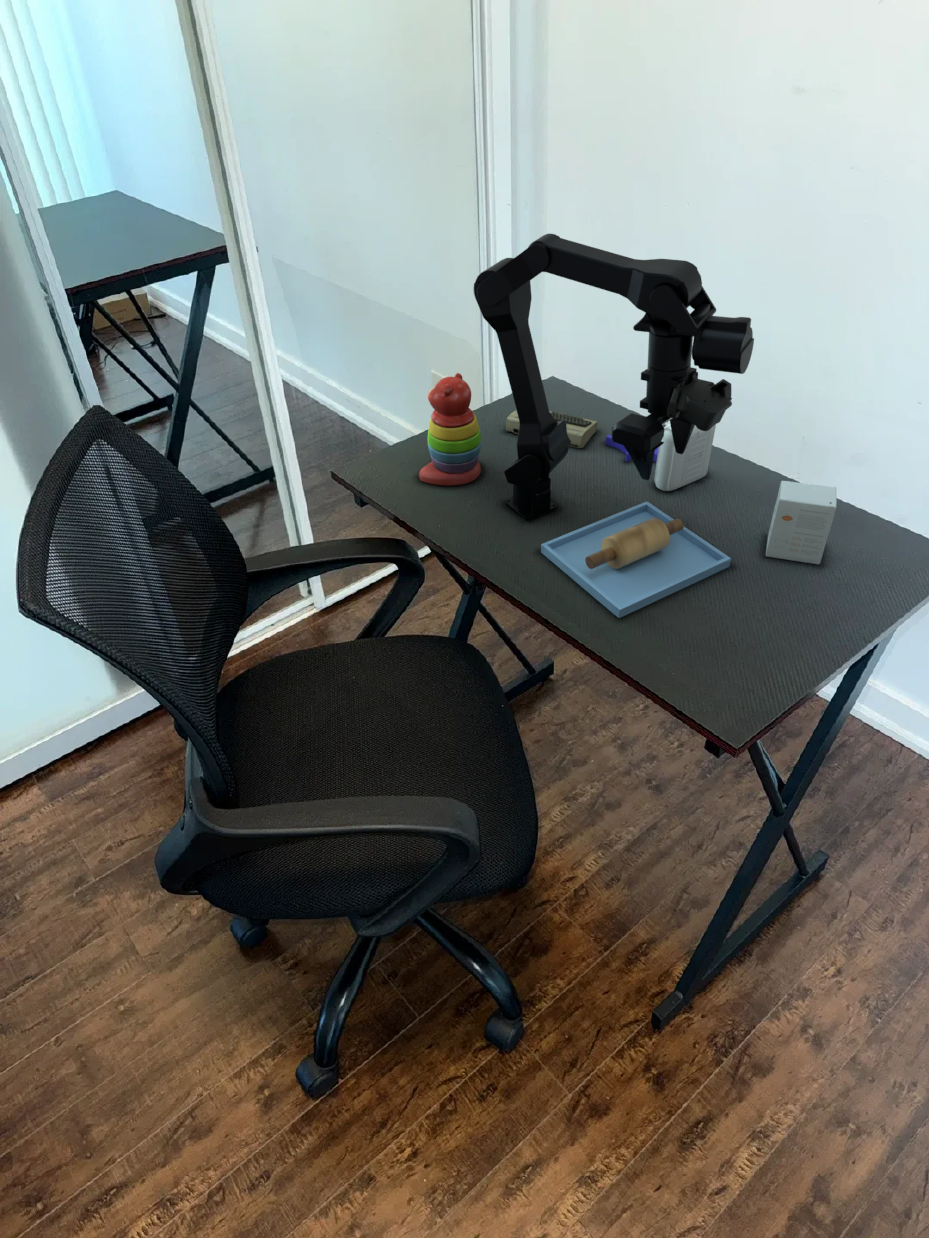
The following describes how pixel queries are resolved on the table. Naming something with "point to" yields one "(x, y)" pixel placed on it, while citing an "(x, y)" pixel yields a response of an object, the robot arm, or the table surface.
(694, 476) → the photo printer
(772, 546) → the small box
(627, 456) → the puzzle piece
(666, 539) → the rolling pin
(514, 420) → the computer
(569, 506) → the table surface
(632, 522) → the tray
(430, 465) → the stacking bear
